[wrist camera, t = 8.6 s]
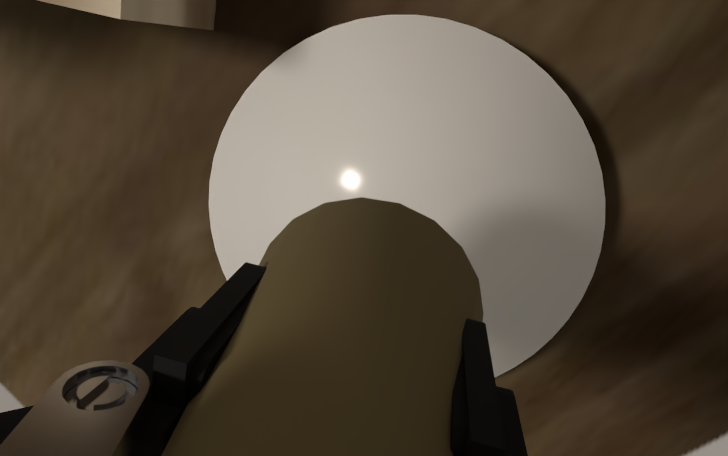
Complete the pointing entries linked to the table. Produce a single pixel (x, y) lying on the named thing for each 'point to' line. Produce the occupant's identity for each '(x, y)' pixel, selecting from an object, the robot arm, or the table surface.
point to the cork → (342, 342)
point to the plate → (423, 161)
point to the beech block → (150, 11)
